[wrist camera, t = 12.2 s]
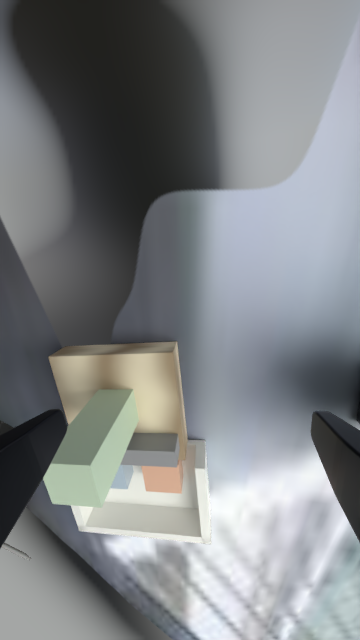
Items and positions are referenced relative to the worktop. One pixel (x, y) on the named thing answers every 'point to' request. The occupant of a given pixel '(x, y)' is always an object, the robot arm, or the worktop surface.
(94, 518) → the tray
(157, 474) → the tile
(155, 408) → the board
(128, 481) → the tile
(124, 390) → the green grey branched block
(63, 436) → the robot arm
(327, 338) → the worktop surface
